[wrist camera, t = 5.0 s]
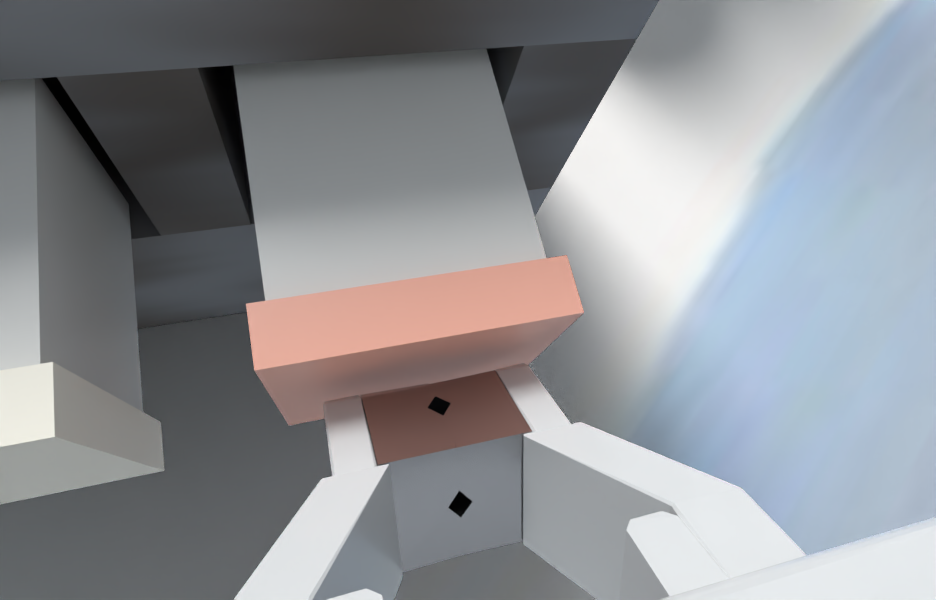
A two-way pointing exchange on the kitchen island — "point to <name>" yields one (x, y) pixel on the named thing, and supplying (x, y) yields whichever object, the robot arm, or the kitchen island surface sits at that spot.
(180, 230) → the console
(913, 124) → the kitchen island surface
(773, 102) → the kitchen island surface
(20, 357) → the cream button
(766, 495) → the kitchen island surface
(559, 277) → the coral button
